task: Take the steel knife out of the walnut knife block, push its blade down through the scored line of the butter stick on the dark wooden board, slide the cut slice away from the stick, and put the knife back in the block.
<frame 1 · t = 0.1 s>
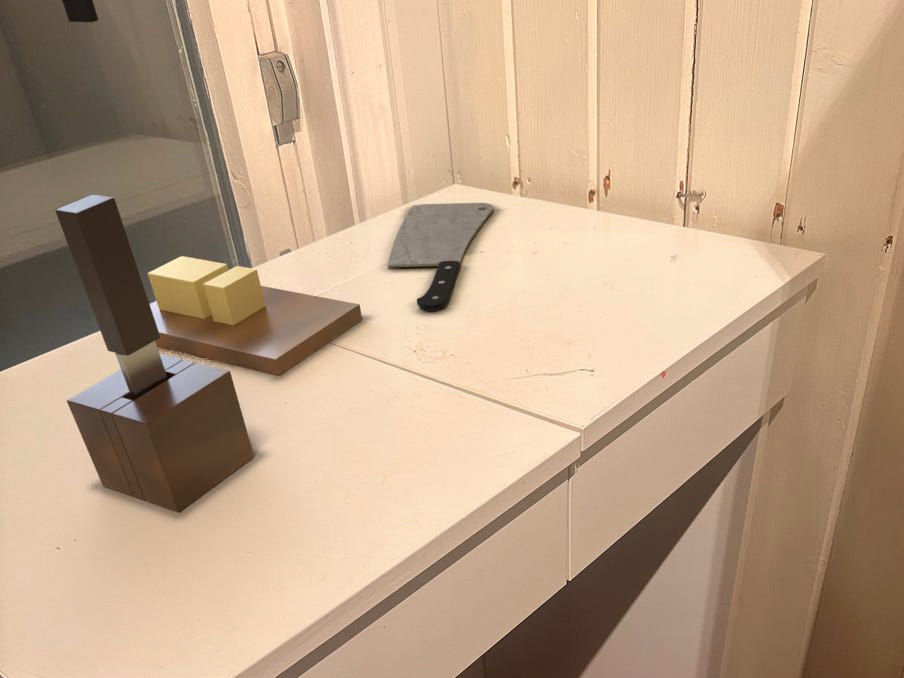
hand: (145, 5, 78), 24 cm above the table, tool pointing down, fingers open, 13 cm apart
butter block: (198, 305, 87), point 1 cm above the table, touching board
cleaver: (430, 254, 96), on the table
knife: (137, 351, 62), in the knife block
knife block: (179, 471, 68), on the table
board: (240, 328, 86), on the table
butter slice: (240, 314, 85), point 1 cm above the table, touching board
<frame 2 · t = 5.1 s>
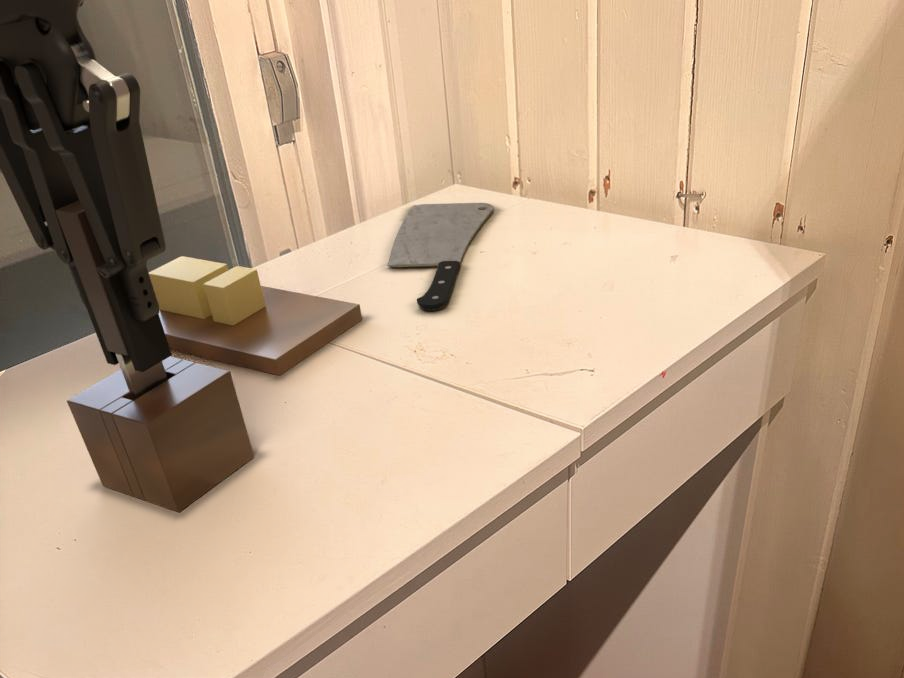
hand: (139, 358, 62), 9 cm above the table, tool pointing down, fingers closed on knife, 2 cm apart
knife: (137, 351, 62), in the knife block, touching gripper
everything else where it was.
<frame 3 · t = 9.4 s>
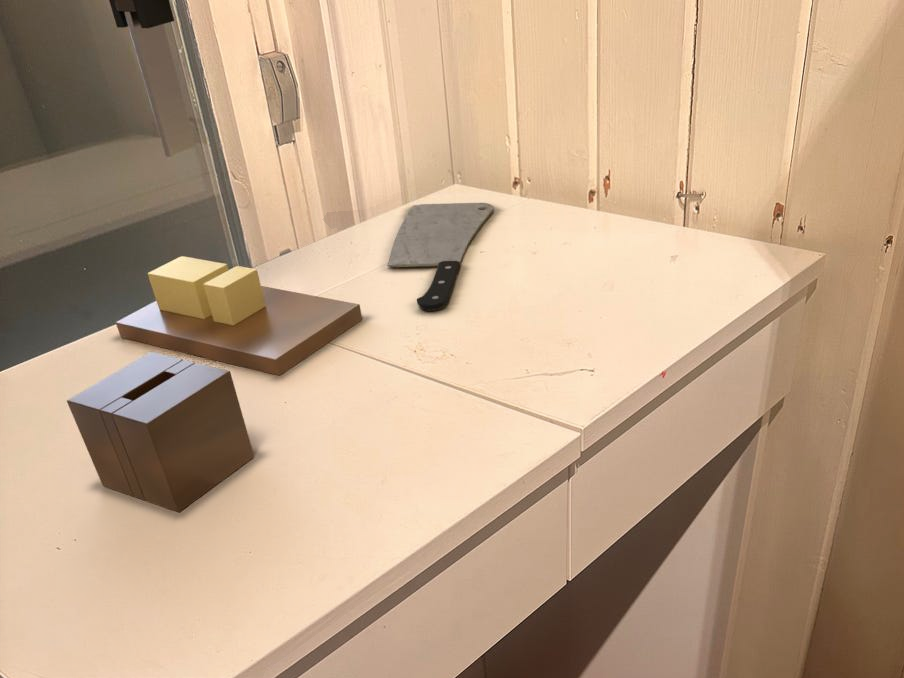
hand: (145, 23, 70), 24 cm above the table, tool pointing down, fingers closed on knife, 2 cm apart
knife: (143, 15, 70), point 25 cm above the table, touching gripper
everything else where it was.
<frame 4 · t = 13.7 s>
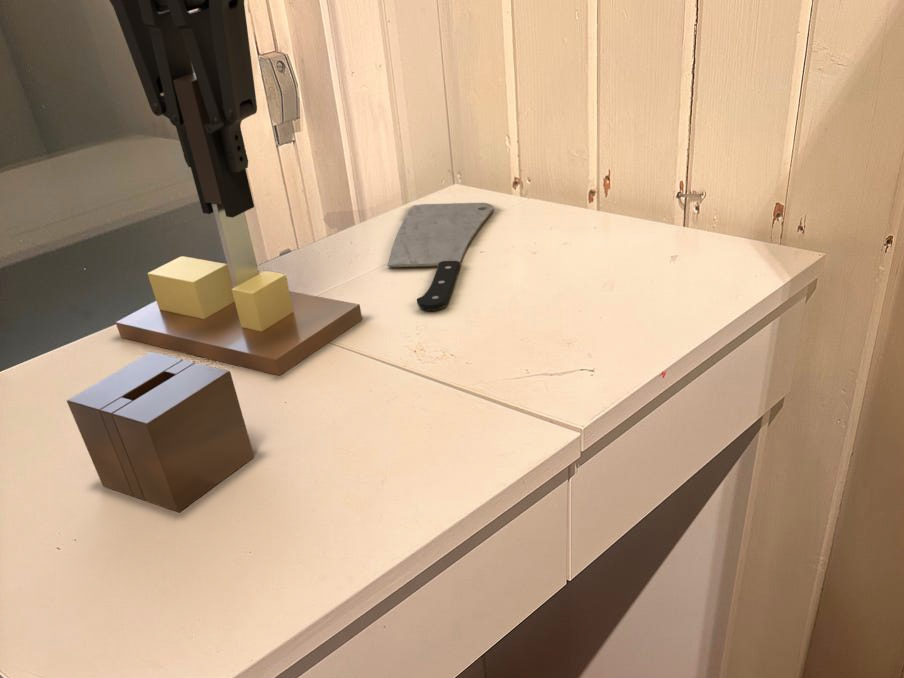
hand: (228, 209, 78), 11 cm above the table, tool pointing down, fingers closed on knife, 2 cm apart
knife: (227, 204, 77), point 11 cm above the table, touching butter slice, gripper
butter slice: (267, 319, 84), point 2 cm above the table, touching board, knife
everything else where it was.
when the fingers open (11 cm above the table, at t = 21.2 s): knife drops 2 cm, resting in knife block.
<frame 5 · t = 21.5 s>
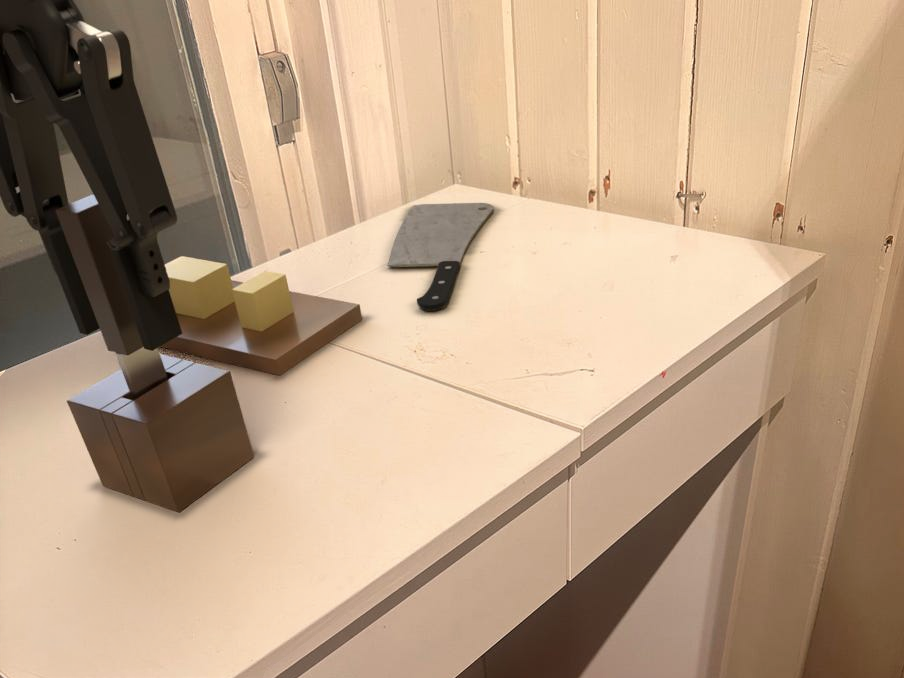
hand: (130, 332, 61), 11 cm above the table, tool pointing down, fingers open, 6 cm apart
knife: (137, 351, 62), in the knife block
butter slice: (268, 319, 84), point 1 cm above the table, touching board
everything else where it was.
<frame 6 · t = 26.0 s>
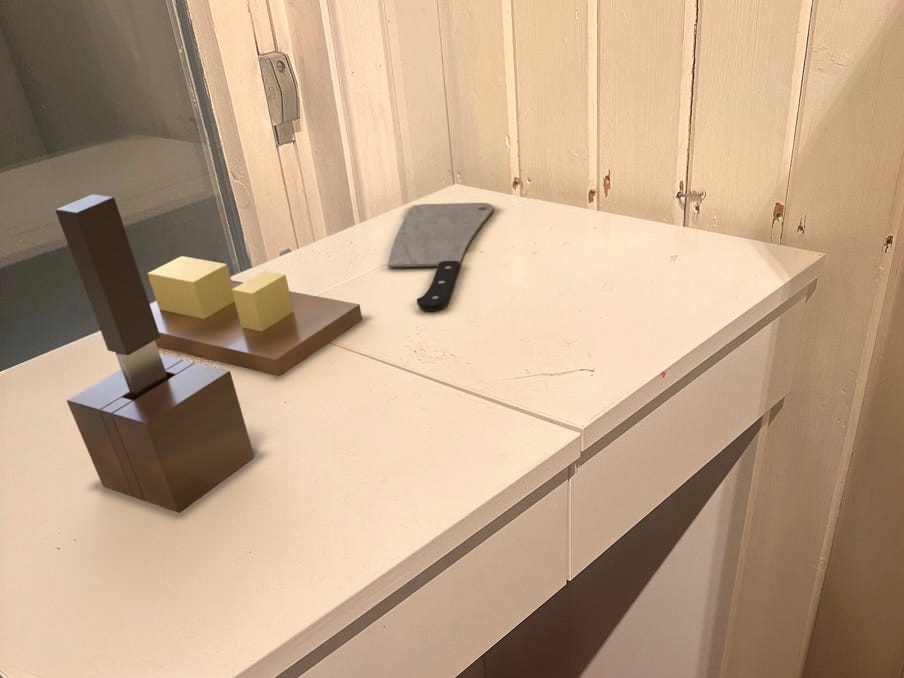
nothing on the table moved.
at the end: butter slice moved 3.5 cm from its start; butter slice 0.5 cm from the target spot on the table beside the butter block, resting on board; knife 0.0 cm off-centre on the knife block, point 9.5 cm above the knife block's base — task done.
